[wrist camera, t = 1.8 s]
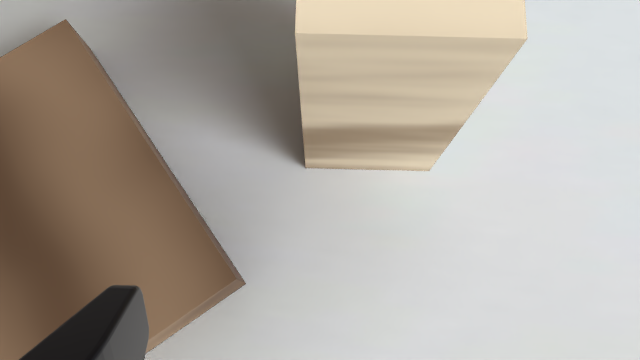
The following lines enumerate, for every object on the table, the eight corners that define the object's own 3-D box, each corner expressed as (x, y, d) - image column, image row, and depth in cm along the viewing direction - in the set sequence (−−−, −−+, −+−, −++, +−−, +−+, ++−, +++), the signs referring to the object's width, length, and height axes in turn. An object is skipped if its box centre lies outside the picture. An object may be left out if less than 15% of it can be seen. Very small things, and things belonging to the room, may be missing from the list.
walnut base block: (-39, 481, 20) (-88, 503, 17) (-175, 208, 22) (-235, 194, 20) (245, 283, 22) (236, 278, 19) (91, 49, 24) (65, 19, 22)
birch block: (429, 171, 23) (527, 38, 12) (305, 168, 23) (294, 33, 12) (426, 57, 24) (513, -154, 13) (309, 54, 24) (302, -158, 13)
